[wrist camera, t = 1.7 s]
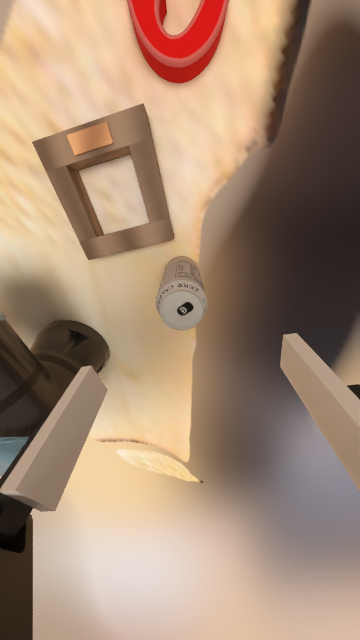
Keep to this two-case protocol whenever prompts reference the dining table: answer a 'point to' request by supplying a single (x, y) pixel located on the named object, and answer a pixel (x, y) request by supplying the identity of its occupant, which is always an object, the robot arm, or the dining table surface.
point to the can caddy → (97, 147)
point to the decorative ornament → (178, 38)
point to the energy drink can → (181, 295)
